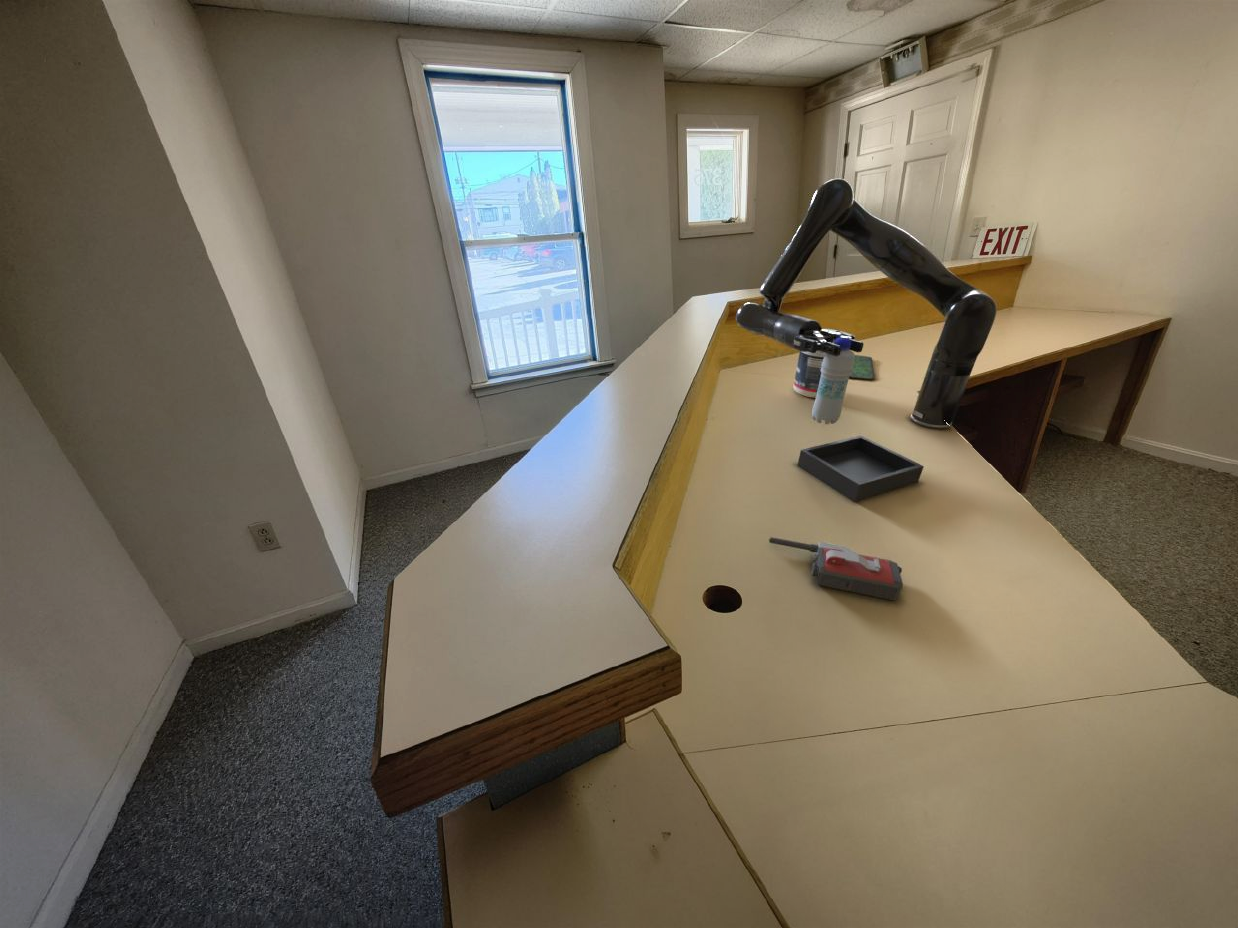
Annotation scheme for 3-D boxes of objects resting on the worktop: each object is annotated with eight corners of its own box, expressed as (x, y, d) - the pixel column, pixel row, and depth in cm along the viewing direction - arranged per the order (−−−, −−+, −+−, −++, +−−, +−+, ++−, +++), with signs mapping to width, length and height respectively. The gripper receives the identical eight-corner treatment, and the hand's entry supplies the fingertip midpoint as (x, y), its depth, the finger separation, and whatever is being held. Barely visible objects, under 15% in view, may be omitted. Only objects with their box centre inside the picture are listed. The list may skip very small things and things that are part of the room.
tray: (856, 450, 108) (860, 435, 106) (917, 482, 96) (924, 466, 94) (797, 465, 102) (800, 449, 100) (854, 502, 90) (859, 484, 88)
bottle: (842, 427, 106) (864, 342, 96) (812, 425, 107) (830, 341, 97) (836, 416, 112) (856, 334, 102) (807, 414, 113) (824, 333, 103)
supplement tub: (795, 383, 149) (805, 326, 140) (837, 388, 145) (851, 330, 135) (789, 396, 139) (800, 336, 130) (834, 402, 135) (849, 340, 125)
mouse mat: (874, 380, 150) (875, 377, 150) (804, 373, 158) (805, 370, 157) (871, 358, 172) (871, 355, 171) (809, 352, 180) (810, 350, 179)
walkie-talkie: (895, 566, 74) (768, 541, 79) (904, 545, 71) (772, 521, 77) (906, 605, 66) (765, 575, 72) (916, 583, 64) (769, 554, 70)
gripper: (775, 319, 108) (829, 336, 94) (822, 314, 112) (879, 328, 99) (770, 351, 111) (821, 370, 98) (815, 344, 116) (870, 362, 103)
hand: (850, 349), depth 98 cm, fingers closed on bottle, 5 cm apart
